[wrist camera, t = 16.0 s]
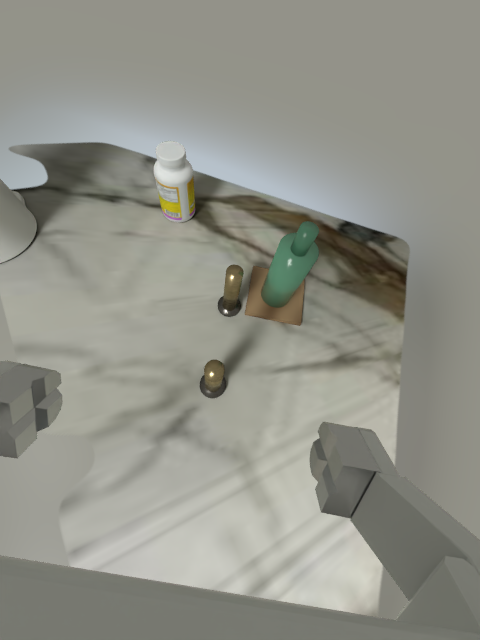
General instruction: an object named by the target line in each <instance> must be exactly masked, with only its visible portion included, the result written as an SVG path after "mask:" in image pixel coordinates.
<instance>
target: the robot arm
mask: <svg viewBox="0 0 480 640" xmlns="http://www.w3.org/2000/svg"><path fill="white" fill-rule="evenodd" d="M36 230H37V223H36V219H35V217H34V216H33V214H32V213H31V212H30V211H29V210H28V209H27V208H26V206H25V201H24V198H23V197H22V196H21V195H20V194H19V193H18V192H15V191H11V190H10V189H9V188H8V187H7V186H6V185H5V184H4V183H3V181H2V180H1V179H0V263H2V262H5V261H7V260H9V259H12V258H13V257H15V256H17V255H18V254H20V253H21V252H22V251H24V250H25V249H26V248H27V247H28V246H29V244H30V243H31V242H32V240H33V239H34V237H35V234H36ZM60 384H61V374H60V373H59V372H57V371H55V370H50V369H45V368H41V367H36V366H31V365H27V364H21V363H16V362H11V361H1V362H0V456H4V457H11V458H18V457H19V456H20V455H21V454H22V453H23V452H24V451H25V450H26V449H27V448H28V447H29V446H30V445H31V444H32V443H33V442H34V441H35V440H36V439H37V432H38V431H40V430H42V429H45V428H47V427H49V426H50V425H51V424H52V422H53V421H54V420H55V419H56V417H57V416H58V414H59V412H60V410H61V406H62V394H61V393H60V392H59V390H58V389H57V387H58V386H59V385H60ZM318 433H319V437H320V438H319V439H317V440H316V441H314V442H313V445H312V448H311V452H310V468H311V473H312V475H313V477H314V478H315V479H316V480H317V481H318V484H317V486H316V489H315V490H316V494H317V498H318V502H319V506H320V510H321V512H322V513H327V514H332V515H337V516H341V517H346V518H351V521H352V523H353V524H354V526H355V527H356V528H357V530H358V531H359V533H360V534H361V535H362V537H363V538H364V539H365V541H366V542H367V544H368V545H369V546H370V548H371V549H372V551H373V552H374V553H375V555H376V556H377V557H378V559H379V560H380V562H381V563H382V564H383V566H384V567H385V568H386V570H387V571H388V572H389V574H390V575H391V577H392V578H393V580H394V581H395V582H396V584H397V585H398V586H399V588H400V589H401V590H402V592H403V593H404V595H405V596H406V598H407V599H408V600H409V602H408V603H407V605H406V606H405V607H404V608H403V610H402V611H401V612H400V613H399V615H398V617H397V619H396V620H392V619H386V618H379V617H373V616H367V615H361V614H355V613H349V612H343V611H337V610H330V609H324V608H318V607H312V606H306V605H300V604H294V603H288V602H282V601H276V600H270V599H264V598H257V597H251V596H245V595H239V594H233V593H227V592H221V591H215V590H209V589H203V588H197V587H191V586H185V585H179V584H172V583H166V582H160V581H154V580H148V579H142V578H136V577H130V576H124V575H117V574H111V573H105V572H99V571H93V570H87V569H81V568H74V567H68V566H62V565H56V564H50V563H44V562H38V561H31V560H25V559H19V558H13V557H7V556H1V555H0V640H480V540H479V539H478V538H477V537H476V536H475V535H473V534H472V533H471V532H470V531H469V530H467V529H466V528H465V527H464V526H462V524H460V523H459V522H458V521H457V520H456V519H454V518H453V517H452V516H451V515H450V514H448V513H447V512H446V511H445V510H444V509H442V508H441V507H440V506H439V505H438V504H436V503H435V502H434V501H433V500H432V499H431V498H430V497H428V496H427V495H426V494H425V493H423V492H422V491H421V490H420V489H419V488H418V487H416V486H415V485H414V484H413V483H412V482H411V481H409V480H408V479H407V478H405V477H401V476H400V475H399V473H398V471H397V470H396V468H395V466H394V464H393V463H392V461H391V459H390V458H389V456H388V454H387V452H386V451H385V449H384V447H383V446H382V444H381V442H380V440H379V439H378V437H377V435H376V434H375V432H373V431H372V430H370V429H364V428H358V427H350V426H344V425H339V424H334V423H328V422H323V423H322V424H321V425H320V427H319V430H318Z"/></svg>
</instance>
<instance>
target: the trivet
mask: <svg viewBox="0 0 480 640" xmlns="http://www.w3.org/2000/svg"><path fill="white" fill-rule="evenodd" d="M268 271H269V269H267V268H262V267H257V266H253V271H252V276H251V282H250V288H249V293H248V299H247V305H246V310H245V315H249V316H254V317H259V318H264V319H269V320H274V321H279V322H284V323H289V324H294V325H299V326H300V325H301V320H302V308H303V295H304V282H305V278H304V280H303V282H302V283H301V285H300V286H299V288H298V289H297V291H296V292H295V294H294V295H293V297H292V298H291V300H290V301H289V303H288V304H287V305H285V306H284V307H280V308H275V307H271V306H269V305H267V304H266V303H265V302H264V301H263V299H262V297H261V288H262V286H263V283H264V281H265V278H266V276H267V273H268Z"/></svg>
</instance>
